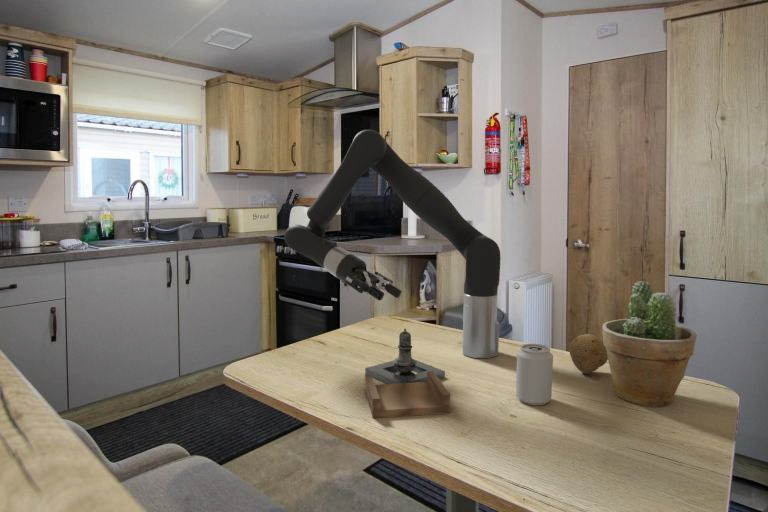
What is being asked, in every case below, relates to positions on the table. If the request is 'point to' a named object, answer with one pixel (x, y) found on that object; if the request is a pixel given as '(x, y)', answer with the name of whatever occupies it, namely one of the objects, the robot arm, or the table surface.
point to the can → (534, 374)
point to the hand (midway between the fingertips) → (391, 295)
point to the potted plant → (648, 349)
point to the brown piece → (407, 397)
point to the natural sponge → (588, 353)
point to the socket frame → (385, 375)
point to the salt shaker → (404, 356)
